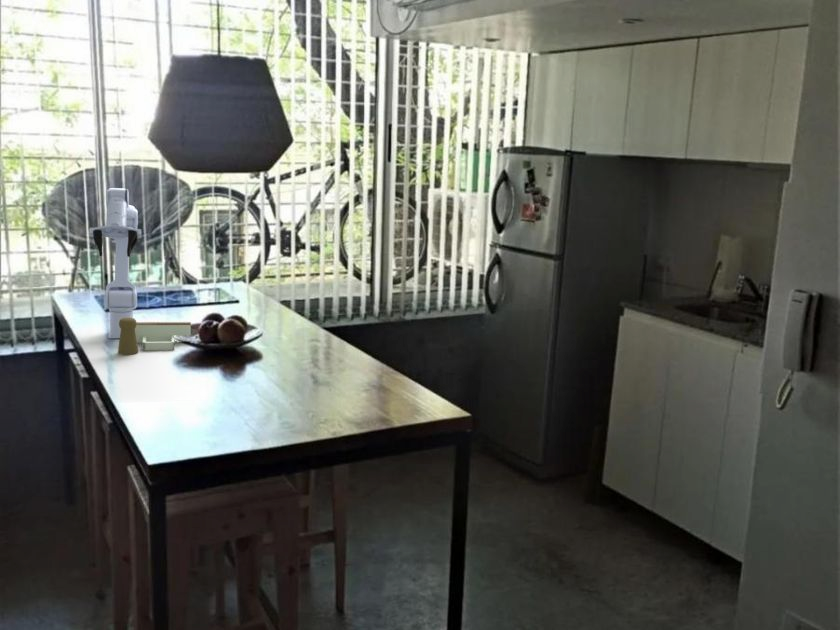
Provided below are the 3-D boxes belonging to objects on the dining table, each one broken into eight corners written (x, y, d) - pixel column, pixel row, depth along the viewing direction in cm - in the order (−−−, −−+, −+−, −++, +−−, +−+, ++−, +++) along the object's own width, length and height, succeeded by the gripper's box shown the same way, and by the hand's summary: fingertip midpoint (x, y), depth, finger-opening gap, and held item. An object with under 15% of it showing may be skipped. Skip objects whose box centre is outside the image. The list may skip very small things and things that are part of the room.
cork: (131, 355, 253) (131, 321, 251) (114, 353, 254) (113, 319, 252) (142, 351, 259) (141, 317, 256) (124, 348, 260) (124, 315, 257)
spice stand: (126, 341, 268) (126, 322, 266) (190, 341, 273) (190, 322, 272) (125, 350, 258) (124, 330, 257) (191, 349, 264) (191, 329, 263)
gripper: (89, 209, 244) (86, 244, 236) (141, 211, 248) (140, 246, 240) (91, 225, 249) (88, 260, 241) (141, 227, 253) (140, 261, 246)
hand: (114, 254), depth 241 cm, fingers open, 7 cm apart
